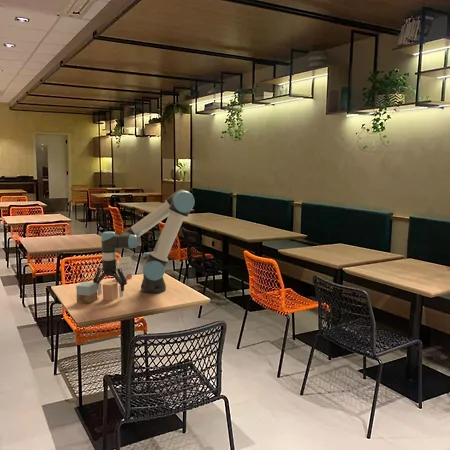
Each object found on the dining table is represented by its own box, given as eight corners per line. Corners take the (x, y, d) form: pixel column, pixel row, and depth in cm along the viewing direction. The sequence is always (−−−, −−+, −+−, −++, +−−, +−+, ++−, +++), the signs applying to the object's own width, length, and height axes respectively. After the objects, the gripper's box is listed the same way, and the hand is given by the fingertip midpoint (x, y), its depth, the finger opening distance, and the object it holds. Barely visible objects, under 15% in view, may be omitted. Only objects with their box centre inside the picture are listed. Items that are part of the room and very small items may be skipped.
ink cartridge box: (129, 276, 303) (129, 255, 301) (131, 278, 299) (131, 256, 297) (117, 277, 299) (116, 256, 297) (119, 279, 295) (118, 257, 293)
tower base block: (97, 300, 252) (97, 291, 252) (89, 304, 245) (89, 295, 244) (85, 298, 255) (84, 290, 254) (76, 303, 247) (76, 294, 246)
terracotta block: (117, 297, 256) (117, 282, 255) (112, 300, 251) (112, 285, 249) (108, 296, 258) (108, 281, 257) (103, 300, 252) (102, 284, 251)
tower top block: (97, 291, 252) (97, 282, 251) (89, 295, 244) (89, 286, 243) (84, 290, 254) (84, 281, 253) (76, 294, 246) (76, 285, 245)
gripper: (132, 259, 251) (133, 295, 254) (93, 256, 258) (94, 292, 261) (126, 262, 244) (127, 299, 247) (85, 259, 251) (87, 295, 254)
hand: (110, 295), depth 254 cm, fingers open, 13 cm apart
